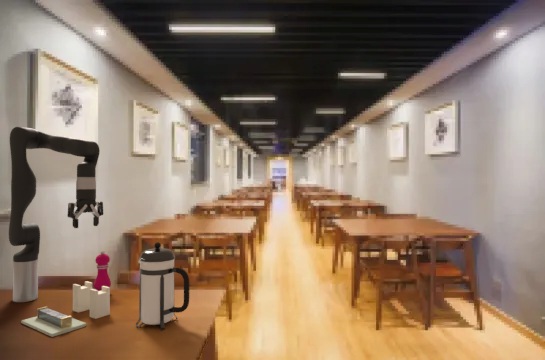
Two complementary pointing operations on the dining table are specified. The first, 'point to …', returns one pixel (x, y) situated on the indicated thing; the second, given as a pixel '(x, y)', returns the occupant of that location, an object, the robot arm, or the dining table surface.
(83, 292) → the post
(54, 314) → the rail
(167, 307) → the coffee press
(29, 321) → the mat
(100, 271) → the pepper mill
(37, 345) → the dining table surface
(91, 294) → the post
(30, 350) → the dining table surface
